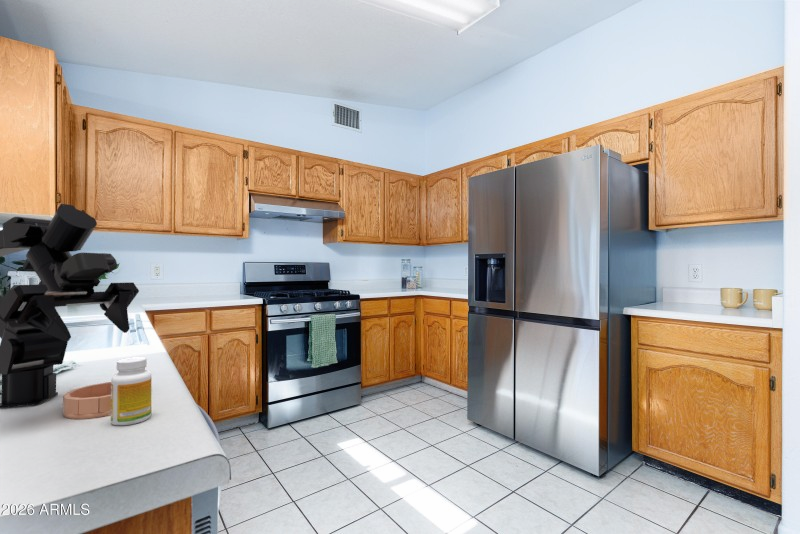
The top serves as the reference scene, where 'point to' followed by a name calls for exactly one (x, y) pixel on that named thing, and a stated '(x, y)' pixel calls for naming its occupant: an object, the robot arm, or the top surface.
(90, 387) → the terracotta bowl
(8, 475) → the top surface
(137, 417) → the supplement bottle
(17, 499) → the top surface
